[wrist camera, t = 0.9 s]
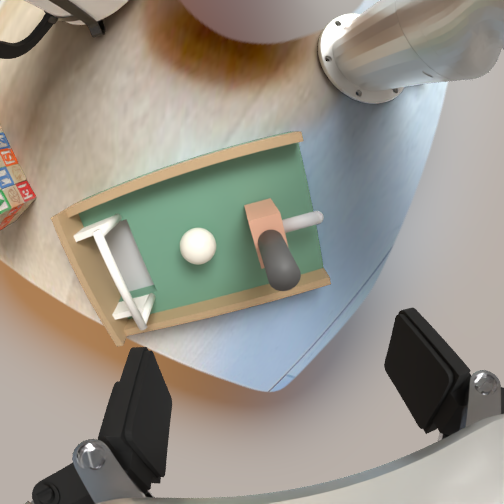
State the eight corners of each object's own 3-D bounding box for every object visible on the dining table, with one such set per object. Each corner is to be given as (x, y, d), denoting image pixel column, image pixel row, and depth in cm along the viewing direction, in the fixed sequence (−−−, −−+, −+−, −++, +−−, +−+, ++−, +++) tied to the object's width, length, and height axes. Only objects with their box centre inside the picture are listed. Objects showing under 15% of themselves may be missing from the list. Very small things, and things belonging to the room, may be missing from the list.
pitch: (290, 131, 32) (312, 131, 23) (319, 266, 39) (341, 301, 31) (77, 202, 32) (41, 223, 24) (129, 316, 40) (112, 356, 31)
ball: (210, 218, 32) (208, 230, 29) (221, 250, 34) (220, 265, 30) (177, 228, 33) (171, 241, 29) (188, 259, 34) (185, 275, 30)
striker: (310, 187, 32) (359, 222, 20) (318, 228, 34) (365, 281, 22) (244, 205, 32) (255, 251, 20) (255, 245, 34) (272, 309, 22)
